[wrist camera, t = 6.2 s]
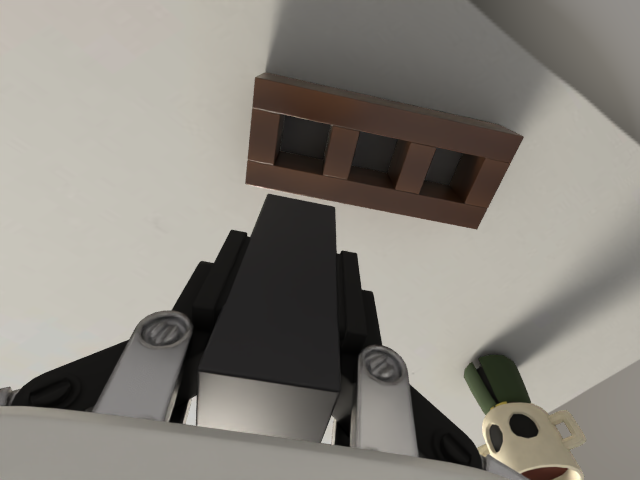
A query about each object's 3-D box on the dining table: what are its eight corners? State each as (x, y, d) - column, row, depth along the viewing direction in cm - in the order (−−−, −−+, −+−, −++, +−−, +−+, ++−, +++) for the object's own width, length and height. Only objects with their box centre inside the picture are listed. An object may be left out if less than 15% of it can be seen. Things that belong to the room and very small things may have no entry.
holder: (264, 72, 26) (255, 76, 22) (499, 124, 28) (524, 136, 24) (254, 167, 30) (245, 184, 26) (460, 208, 31) (477, 229, 28)
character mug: (510, 331, 39) (582, 446, 28) (542, 359, 42) (620, 476, 30) (435, 375, 44) (472, 490, 32) (467, 398, 46) (512, 513, 35)
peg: (267, 192, 14) (196, 369, 7) (335, 206, 15) (341, 391, 7) (259, 250, 16) (194, 447, 8) (321, 261, 16) (314, 463, 8)
